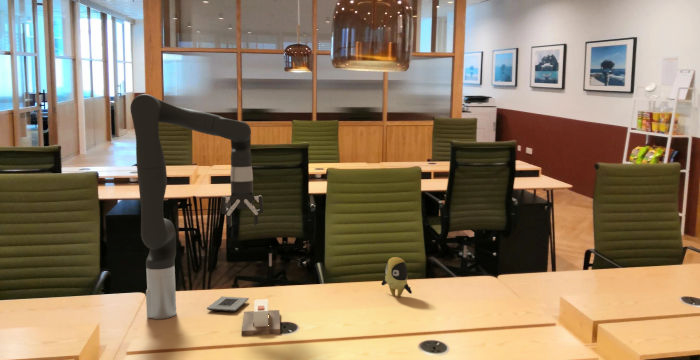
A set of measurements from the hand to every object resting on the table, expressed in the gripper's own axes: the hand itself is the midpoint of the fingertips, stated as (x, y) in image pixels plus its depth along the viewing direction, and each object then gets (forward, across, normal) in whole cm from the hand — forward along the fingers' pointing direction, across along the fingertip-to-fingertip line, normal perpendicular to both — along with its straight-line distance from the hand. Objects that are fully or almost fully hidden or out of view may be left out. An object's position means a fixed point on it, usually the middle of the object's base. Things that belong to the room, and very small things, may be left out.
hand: (242, 225), depth 209 cm
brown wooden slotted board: (+30, +6, -16) cm, 35 cm away
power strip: (+30, +6, -16) cm, 35 cm away
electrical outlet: (+31, -6, +3) cm, 32 cm away
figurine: (+30, +56, +7) cm, 64 cm away
